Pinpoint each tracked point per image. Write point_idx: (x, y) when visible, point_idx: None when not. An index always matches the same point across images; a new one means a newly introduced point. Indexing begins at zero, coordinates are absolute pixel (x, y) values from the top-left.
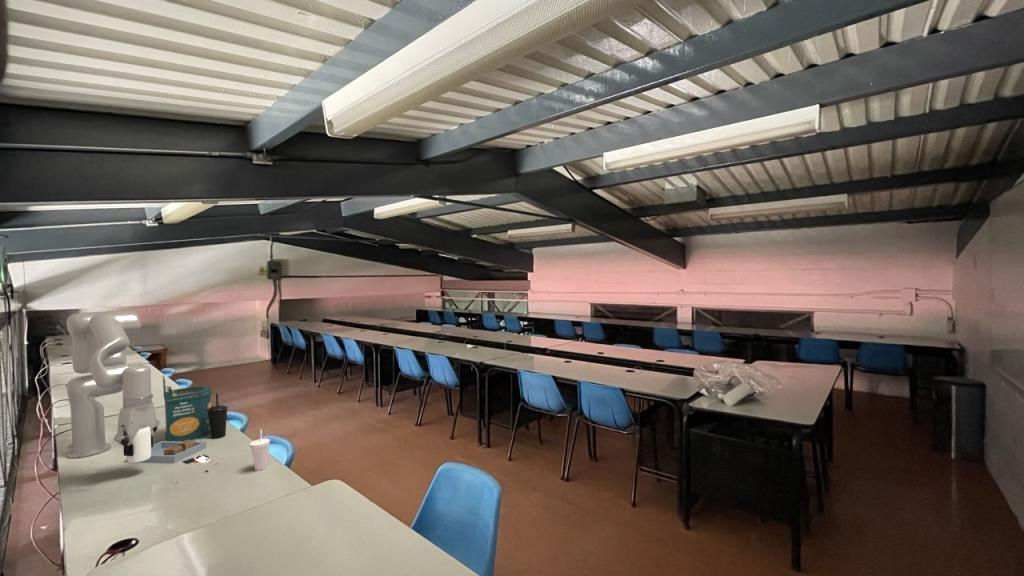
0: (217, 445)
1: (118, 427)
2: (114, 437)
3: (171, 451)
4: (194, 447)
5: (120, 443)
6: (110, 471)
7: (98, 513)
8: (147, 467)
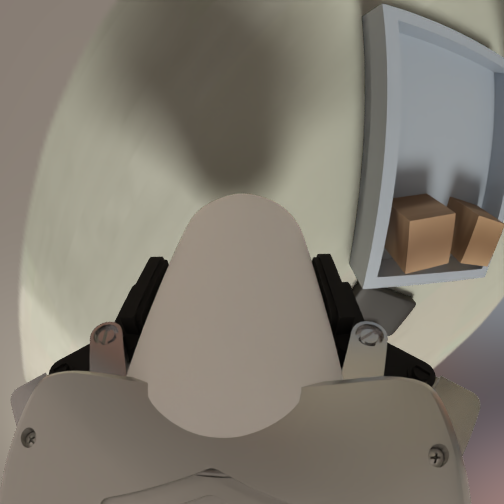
0: (492, 259)
1: (13, 474)
2: (13, 407)
3: (403, 255)
4: (447, 281)
5: (77, 354)
6: (281, 3)
7: (55, 317)
8: (338, 150)
